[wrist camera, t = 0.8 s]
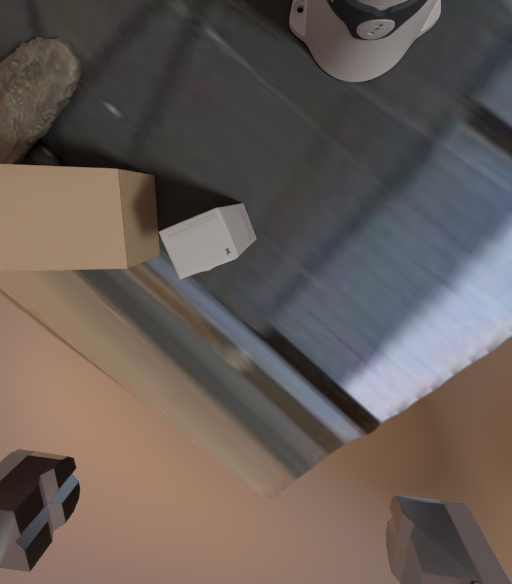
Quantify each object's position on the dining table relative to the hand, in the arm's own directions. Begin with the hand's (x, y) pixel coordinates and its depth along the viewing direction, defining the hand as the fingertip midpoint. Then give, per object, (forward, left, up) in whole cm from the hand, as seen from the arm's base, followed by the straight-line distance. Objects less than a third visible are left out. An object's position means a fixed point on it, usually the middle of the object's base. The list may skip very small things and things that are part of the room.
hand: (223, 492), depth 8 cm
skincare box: (-2, -10, -45) cm, 46 cm away
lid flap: (-4, -32, -31) cm, 44 cm away
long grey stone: (-17, -46, -45) cm, 67 cm away
